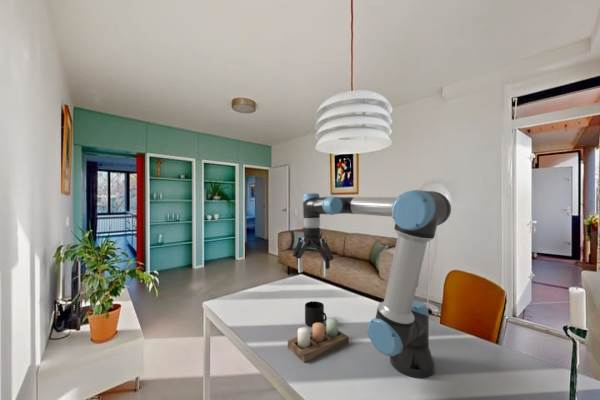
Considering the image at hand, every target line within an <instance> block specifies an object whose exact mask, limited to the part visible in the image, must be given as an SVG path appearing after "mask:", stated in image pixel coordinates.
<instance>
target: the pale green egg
mask: <svg viewBox="0 0 600 400" xmlns="http://www.w3.org/2000/svg"><path fill="white" fill-rule="evenodd" d="M325 322H326V323H325V324H326V326H325V327H326V334H327V336H329V337H330V338H334V337H336V336H338V330H339V320H338V319H337V318H334V317H330V318H327V319H326V321H325Z"/></svg>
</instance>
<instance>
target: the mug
mask: <svg viewBox="0 0 600 400" xmlns="http://www.w3.org/2000/svg"><path fill="white" fill-rule="evenodd" d="M327 319H328V318H327V314H326V313H325V306H324V302H321V301H313V300H312V301H308V302H306V303H305V304H304V323H305V325H306V326H307V327H311V328H313V324H314V323H323V324H324V325H325V322H326V320H327Z"/></svg>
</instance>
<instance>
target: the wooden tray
mask: <svg viewBox="0 0 600 400" xmlns="http://www.w3.org/2000/svg"><path fill="white" fill-rule="evenodd" d="M324 332H325V340H324V342H321V343H316V342H314V341H313V331H310V347H308V348H306V349H301V348H299V347H298V336H297V337H293V338H290V339H288V340H287V348H288V350H289V351H291V352H292V354H294V355H295V356H296V357H297V358H298V359H300V361H302V362H303V364H304V363H307V362H309V361H311V360H314V359H316V358H318V357H321V356H323V355H326V354H328V353H330V352H332V351H335V350H337V349H340V348H342V347H344V346H347V345H349V344H350V342H349V338H350V337H349V336H348V335H346V334H345V333H344V332H342V331H340V330H339V329H338V336H336V337H334V338H332V337H329V336H327V334H326V326H324Z"/></svg>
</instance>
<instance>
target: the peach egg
mask: <svg viewBox="0 0 600 400" xmlns="http://www.w3.org/2000/svg"><path fill="white" fill-rule="evenodd" d="M324 327H325V323H324V324H323V323H314V324H313V327H312V332H313V341H314V342H315V343H317V344H318V343H321V342H324V340H325V332H324Z"/></svg>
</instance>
